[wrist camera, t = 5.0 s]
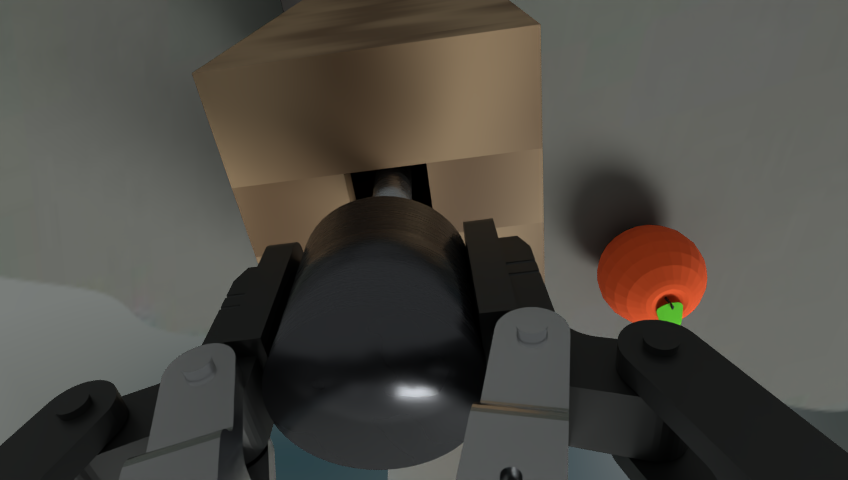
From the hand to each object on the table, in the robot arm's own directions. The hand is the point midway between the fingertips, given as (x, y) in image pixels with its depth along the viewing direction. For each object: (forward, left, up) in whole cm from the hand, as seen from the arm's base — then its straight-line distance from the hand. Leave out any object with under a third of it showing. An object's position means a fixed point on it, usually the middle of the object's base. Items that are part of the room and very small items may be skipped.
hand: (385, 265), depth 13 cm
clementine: (-15, +16, -22) cm, 31 cm away
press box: (0, 0, -22) cm, 22 cm away
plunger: (0, 0, -20) cm, 20 cm away
